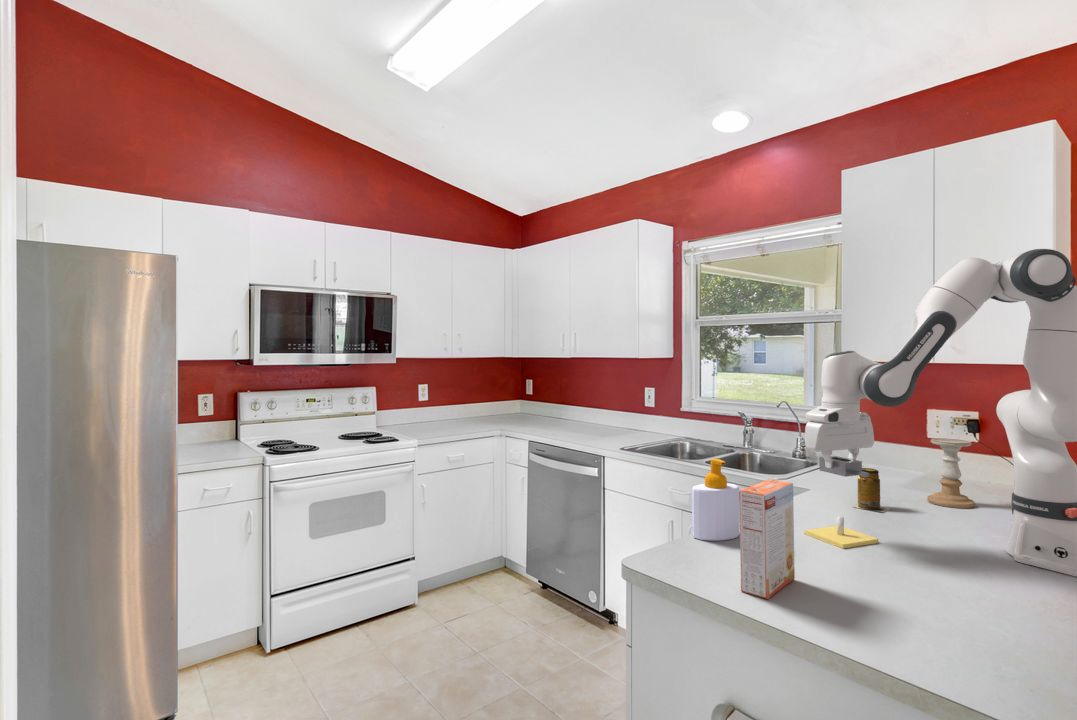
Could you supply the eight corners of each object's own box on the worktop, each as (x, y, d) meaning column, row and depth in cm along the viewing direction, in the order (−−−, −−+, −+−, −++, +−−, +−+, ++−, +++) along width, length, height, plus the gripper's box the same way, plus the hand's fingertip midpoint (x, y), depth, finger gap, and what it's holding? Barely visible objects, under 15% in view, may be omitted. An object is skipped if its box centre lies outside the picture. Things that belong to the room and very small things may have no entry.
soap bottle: (702, 543, 141) (702, 464, 141) (685, 533, 149) (685, 458, 148) (747, 538, 144) (746, 461, 144) (728, 529, 152) (728, 455, 152)
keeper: (878, 542, 140) (878, 521, 140) (842, 548, 136) (842, 526, 136) (838, 528, 151) (838, 508, 151) (804, 533, 147) (804, 513, 147)
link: (876, 478, 137) (876, 464, 137) (859, 479, 135) (859, 465, 135) (835, 468, 148) (835, 455, 148) (819, 470, 147) (819, 457, 147)
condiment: (861, 503, 177) (861, 466, 177) (891, 509, 171) (891, 470, 171) (852, 507, 173) (852, 469, 173) (882, 513, 166) (882, 473, 166)
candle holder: (978, 510, 168) (978, 444, 168) (928, 505, 174) (928, 441, 174) (972, 501, 178) (972, 439, 178) (925, 496, 185) (925, 436, 185)
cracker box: (767, 572, 122) (767, 477, 122) (795, 580, 117) (795, 482, 117) (738, 591, 112) (737, 488, 112) (767, 600, 108) (767, 494, 108)
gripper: (859, 410, 150) (859, 461, 150) (800, 413, 143) (800, 467, 143) (880, 413, 144) (880, 465, 144) (820, 416, 137) (820, 471, 137)
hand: (840, 466), depth 144 cm, fingers closed on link, 6 cm apart
